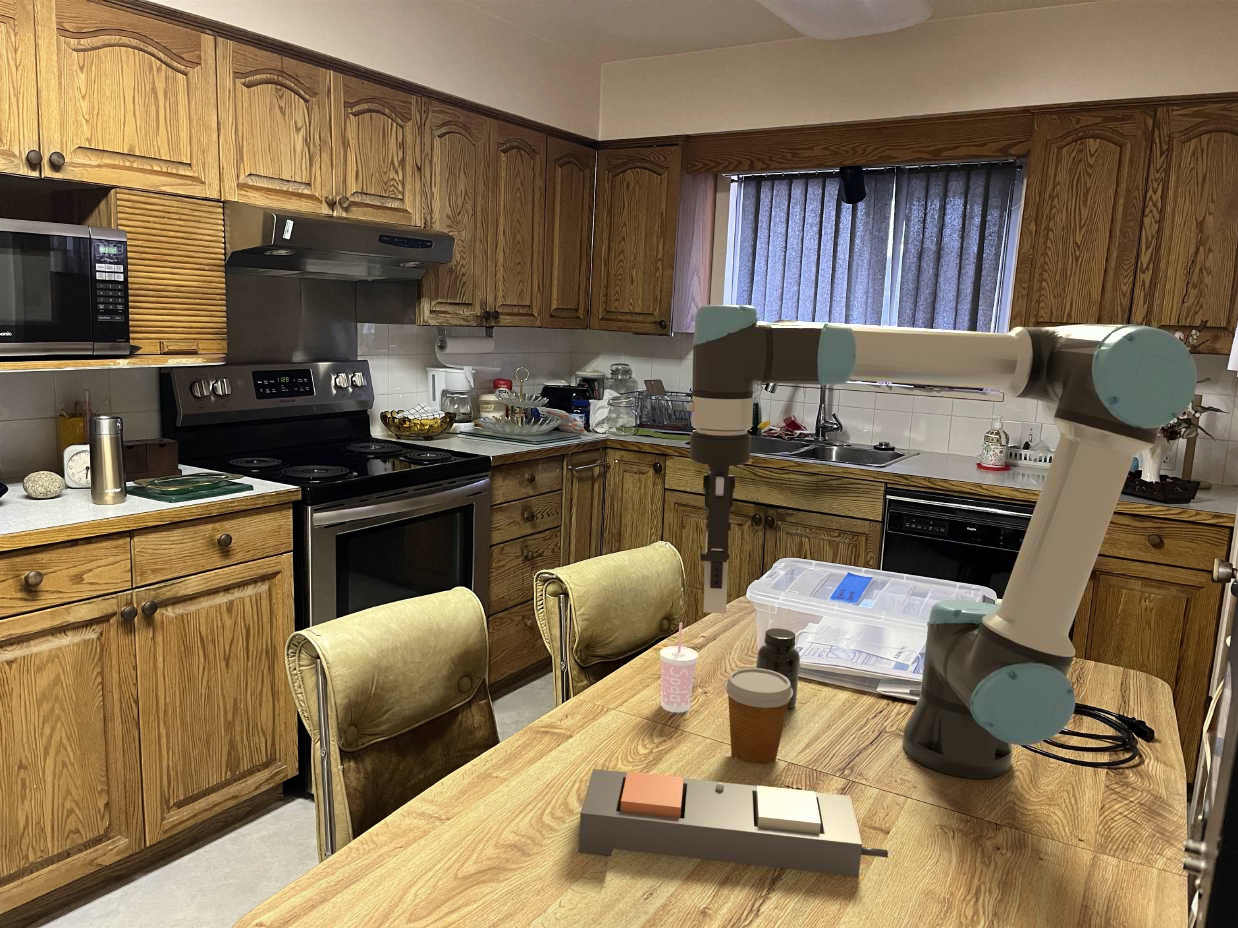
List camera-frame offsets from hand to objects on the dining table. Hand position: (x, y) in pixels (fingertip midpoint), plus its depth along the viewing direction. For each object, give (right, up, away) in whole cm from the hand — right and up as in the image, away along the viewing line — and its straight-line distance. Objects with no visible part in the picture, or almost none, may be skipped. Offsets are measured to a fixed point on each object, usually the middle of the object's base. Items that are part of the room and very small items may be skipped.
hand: (714, 594), depth 118 cm
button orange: (-8, -27, -7) cm, 29 cm away
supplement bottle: (+13, -23, +33) cm, 42 cm away
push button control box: (+1, -29, -7) cm, 30 cm away
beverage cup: (-3, -22, +30) cm, 37 cm away
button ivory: (+7, -28, -8) cm, 30 cm away
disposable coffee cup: (+7, -26, +14) cm, 30 cm away
